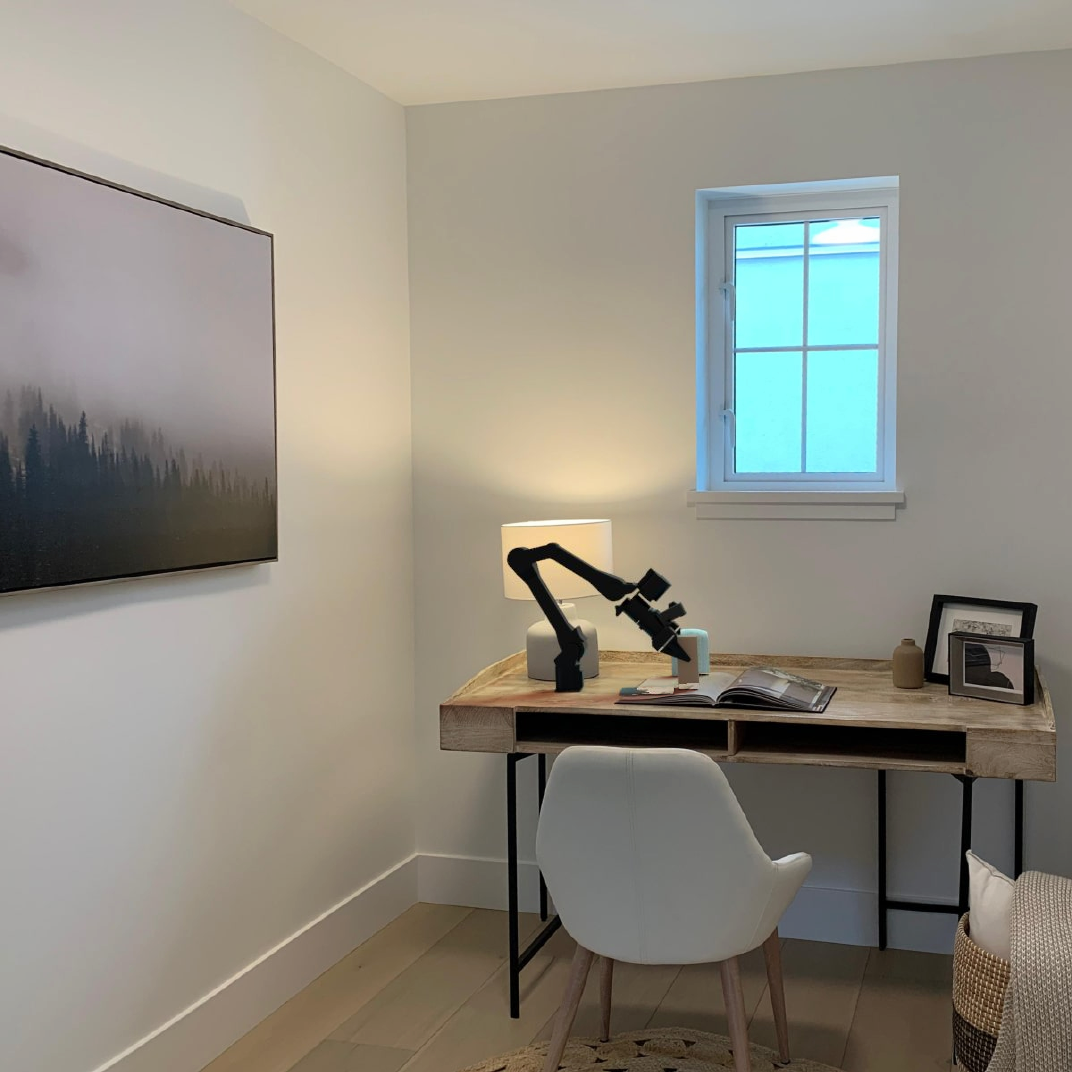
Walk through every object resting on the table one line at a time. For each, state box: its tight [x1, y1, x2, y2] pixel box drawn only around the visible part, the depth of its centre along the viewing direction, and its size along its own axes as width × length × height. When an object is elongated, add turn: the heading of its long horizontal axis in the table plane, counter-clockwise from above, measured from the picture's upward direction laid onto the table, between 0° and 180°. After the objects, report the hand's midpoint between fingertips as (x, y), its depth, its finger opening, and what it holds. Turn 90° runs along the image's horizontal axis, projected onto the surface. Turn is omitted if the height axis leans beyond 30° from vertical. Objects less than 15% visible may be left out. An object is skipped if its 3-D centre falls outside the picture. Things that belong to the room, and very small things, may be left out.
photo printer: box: [670, 628, 710, 677], centre depth 317 cm, size 10×4×12 cm, turn 98°
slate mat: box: [618, 686, 649, 697], centre depth 291 cm, size 13×9×1 cm
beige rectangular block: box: [677, 634, 700, 685], centre depth 295 cm, size 5×5×13 cm
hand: (691, 658), depth 294 cm, fingers open, 9 cm apart
